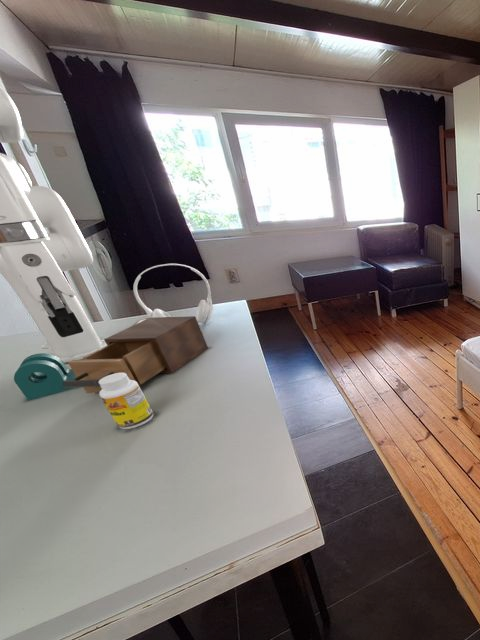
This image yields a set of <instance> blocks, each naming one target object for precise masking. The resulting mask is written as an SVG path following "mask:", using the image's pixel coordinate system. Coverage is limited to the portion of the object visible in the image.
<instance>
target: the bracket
mask: <svg viewBox="0 0 480 640" xmlns="http://www.w3.org/2000/svg"><path fill="white" fill-rule="evenodd" d="M74 378H76V375H75V374H74V372H73V371H72V369H71V368H70V369H69V368H68V367H67V365H66V364H65V363H64V362H63V361H62V360H61V359H60V358H59V357H57V356H55V355H52V354H51V353H44V352H43V353H42V352H41V353H35V354H31V355H29V356H27V357H25V359H23V360H22V361H21V363H20V365H19V366H18V368H17V370H16V371H15V373H14V375H13V381H14V383H15V384H16V386H17V387H18V389H19V391H20V392H21V393H22V394H23V396H24V397H25V399H26V400H27V401H31V400H35V399H40V398H42V397H47V396H50V395H53V394H57V393H60V392H65V391H68V390H71V389H76V387H63V386H62V383H63V382H64V381H70V380H72V379H74Z"/></svg>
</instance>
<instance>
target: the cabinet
mask: <svg viewBox="0 0 480 640" xmlns="http://www.w3.org/2000/svg"><path fill="white" fill-rule="evenodd" d="M145 319H146V320H144V319H143V320H144V321H142V322H140V323H138V322H137V323H138V324H137V323H135V324H134V325H132V326H128V327H127V328H124V329H123V330H121V331H118V332H117V333H114V334H112V335H110V336H108V337H105V338H104V339H103V340H105V342H106V344H107V345H109V344H111V343H113V342H132V341H154V343H155V345H156V347H157V349H158V351H159V353H160V355H161V357H162V359H163V361H164V364H165V366H166V368H165V369H164V370H162V371H161V372H159V373H158V374H173V373H174V372H176V371H178V370H179V369H180V368H181V367H183V366H184V365H186V364H187V363H189V362H191V361H192V360H193V359H194V358H196V357H197V356H199V355H201V354H202V353H203V352H205V351H206V350H208V349H209V347H208V344H207V342H206V339H205V336H204V334H203V332H202V329H201V327H200V325H199V324H200V323H198V322H197V320H196V315H194V316H192V315H191V316H189V315H187V316H172V317H156V318H150V317H148V318H145Z"/></svg>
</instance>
